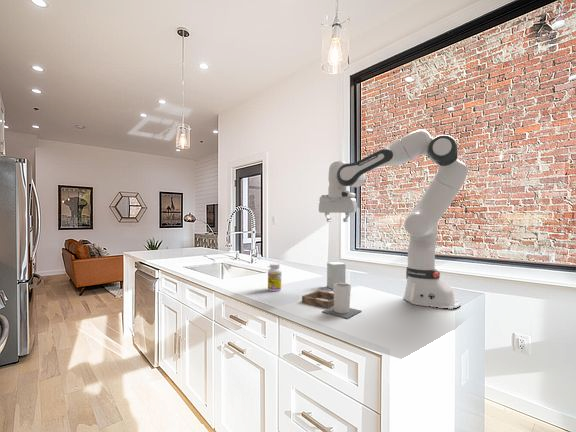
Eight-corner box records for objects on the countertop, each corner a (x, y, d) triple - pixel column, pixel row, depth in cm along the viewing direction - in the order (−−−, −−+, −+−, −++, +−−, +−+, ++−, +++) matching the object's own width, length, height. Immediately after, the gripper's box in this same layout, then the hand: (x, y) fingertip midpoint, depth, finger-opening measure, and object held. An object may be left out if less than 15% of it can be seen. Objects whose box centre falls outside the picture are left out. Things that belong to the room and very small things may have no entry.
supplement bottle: (265, 289, 150) (265, 263, 150) (274, 287, 154) (275, 262, 154) (274, 292, 145) (274, 265, 145) (284, 290, 150) (284, 264, 150)
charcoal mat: (361, 311, 118) (361, 310, 118) (347, 318, 109) (347, 317, 109) (336, 305, 125) (336, 304, 125) (321, 312, 116) (321, 311, 116)
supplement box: (345, 289, 154) (346, 264, 154) (332, 289, 152) (332, 264, 152) (339, 285, 161) (339, 261, 161) (326, 286, 159) (326, 262, 159)
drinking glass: (349, 314, 113) (349, 287, 113) (331, 312, 115) (331, 285, 115) (351, 309, 119) (352, 283, 119) (334, 307, 121) (335, 282, 121)
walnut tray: (344, 301, 131) (344, 295, 131) (328, 308, 121) (328, 302, 121) (318, 295, 140) (319, 290, 140) (302, 302, 130) (302, 296, 130)
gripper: (316, 194, 156) (316, 221, 156) (352, 193, 144) (352, 222, 144) (322, 195, 161) (322, 221, 161) (358, 193, 148) (358, 222, 148)
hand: (336, 221), depth 152 cm, fingers open, 8 cm apart
